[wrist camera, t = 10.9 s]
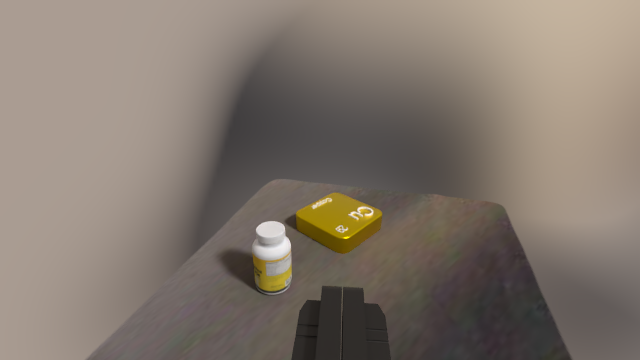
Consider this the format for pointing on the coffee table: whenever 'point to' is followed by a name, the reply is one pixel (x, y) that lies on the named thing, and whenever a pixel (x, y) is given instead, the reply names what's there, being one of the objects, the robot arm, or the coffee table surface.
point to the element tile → (339, 222)
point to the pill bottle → (272, 258)
